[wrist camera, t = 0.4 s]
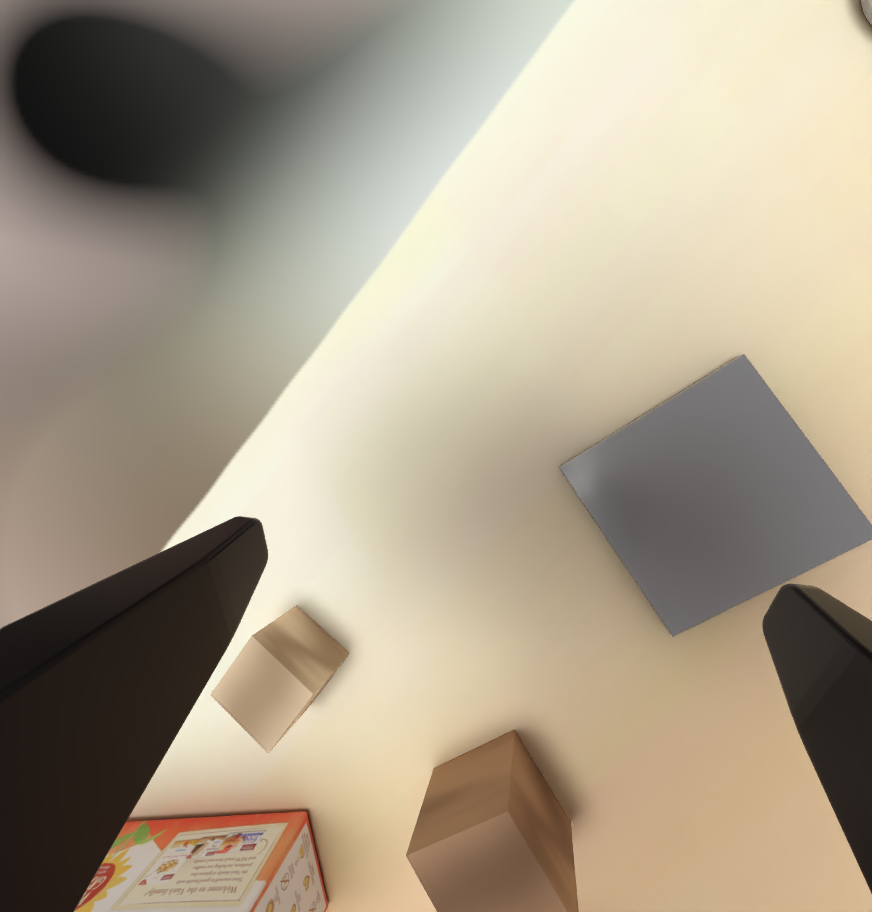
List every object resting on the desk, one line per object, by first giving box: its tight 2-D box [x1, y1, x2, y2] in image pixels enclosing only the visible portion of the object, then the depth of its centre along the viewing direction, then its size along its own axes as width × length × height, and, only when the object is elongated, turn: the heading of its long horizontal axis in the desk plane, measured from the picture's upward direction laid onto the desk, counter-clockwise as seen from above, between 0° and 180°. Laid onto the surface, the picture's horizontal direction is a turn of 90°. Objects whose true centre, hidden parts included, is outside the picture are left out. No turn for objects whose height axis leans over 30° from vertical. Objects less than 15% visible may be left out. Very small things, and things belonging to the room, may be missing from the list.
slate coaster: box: [559, 354, 872, 637], centre depth 19 cm, size 9×9×1 cm
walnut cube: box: [406, 730, 579, 912], centre depth 19 cm, size 5×5×5 cm
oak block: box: [211, 606, 349, 753], centre depth 22 cm, size 4×4×4 cm
